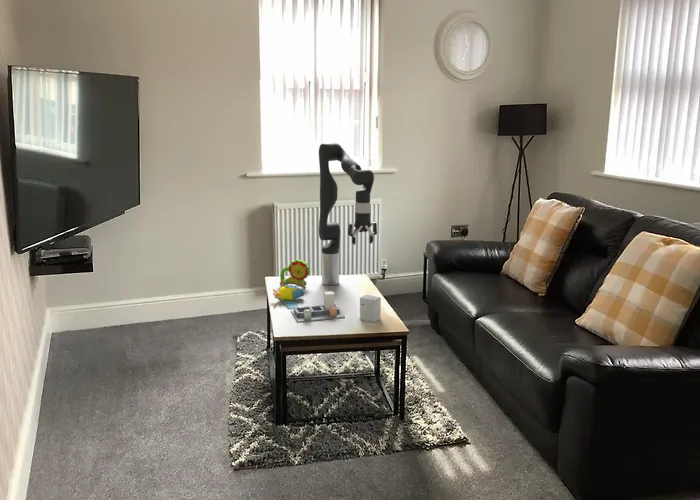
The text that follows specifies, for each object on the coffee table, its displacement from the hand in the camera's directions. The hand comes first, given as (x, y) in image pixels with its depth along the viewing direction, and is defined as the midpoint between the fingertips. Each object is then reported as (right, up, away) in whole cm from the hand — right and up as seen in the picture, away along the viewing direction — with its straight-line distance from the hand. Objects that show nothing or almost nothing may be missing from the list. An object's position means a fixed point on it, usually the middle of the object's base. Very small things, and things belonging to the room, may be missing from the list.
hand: (362, 243), depth 307 cm
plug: (-16, -32, -15) cm, 38 cm away
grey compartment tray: (-21, -33, -18) cm, 43 cm away
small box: (+3, -35, -23) cm, 42 cm away
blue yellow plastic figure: (-36, -29, +3) cm, 46 cm away
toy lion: (-35, -23, +25) cm, 49 cm away
